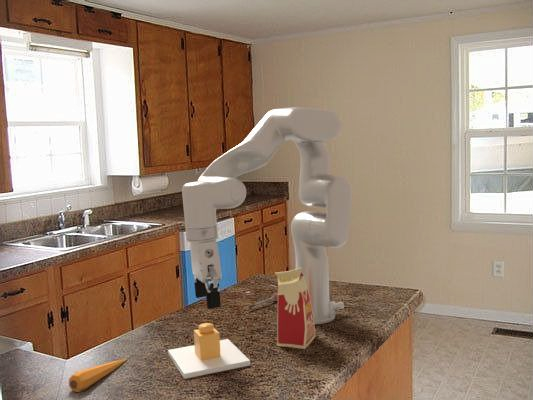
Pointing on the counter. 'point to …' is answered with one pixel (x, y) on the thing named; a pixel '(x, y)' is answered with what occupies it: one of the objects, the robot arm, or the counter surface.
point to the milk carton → (294, 311)
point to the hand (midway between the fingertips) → (207, 302)
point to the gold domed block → (207, 342)
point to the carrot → (91, 375)
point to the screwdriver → (274, 297)
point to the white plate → (195, 367)
